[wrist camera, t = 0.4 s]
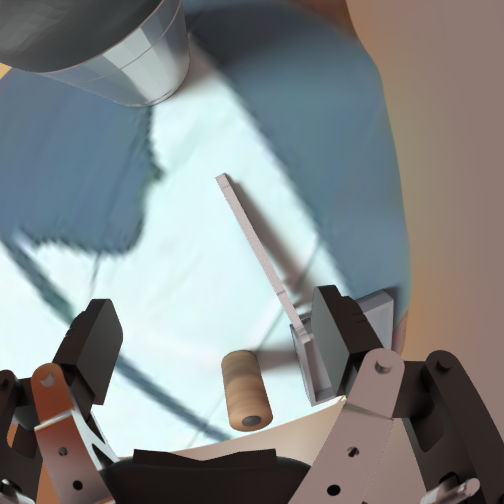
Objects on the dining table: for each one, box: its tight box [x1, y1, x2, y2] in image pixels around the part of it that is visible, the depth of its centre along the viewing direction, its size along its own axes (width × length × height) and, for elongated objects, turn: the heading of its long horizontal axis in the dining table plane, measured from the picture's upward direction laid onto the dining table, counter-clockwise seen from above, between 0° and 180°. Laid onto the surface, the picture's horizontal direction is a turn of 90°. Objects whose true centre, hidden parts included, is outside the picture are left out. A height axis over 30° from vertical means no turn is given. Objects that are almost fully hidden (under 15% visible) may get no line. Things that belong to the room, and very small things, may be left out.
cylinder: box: [221, 350, 273, 432], centre depth 33 cm, size 5×5×10 cm
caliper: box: [215, 173, 310, 344], centre depth 29 cm, size 20×1×6 cm, turn 26°
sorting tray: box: [290, 289, 394, 407], centre depth 38 cm, size 16×14×3 cm
